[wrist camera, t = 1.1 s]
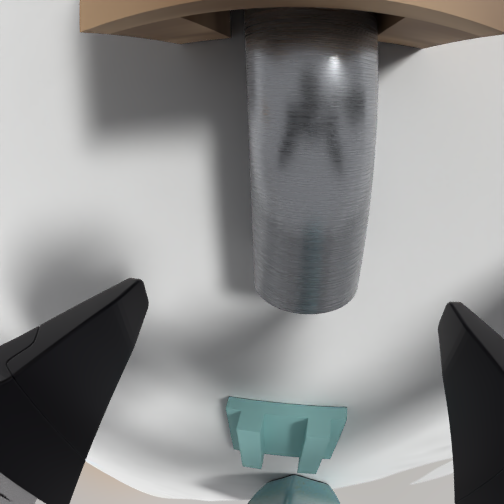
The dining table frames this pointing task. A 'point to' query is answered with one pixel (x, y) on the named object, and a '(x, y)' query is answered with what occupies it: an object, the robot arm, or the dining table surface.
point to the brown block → (220, 3)
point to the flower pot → (295, 492)
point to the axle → (310, 151)
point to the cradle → (284, 431)
